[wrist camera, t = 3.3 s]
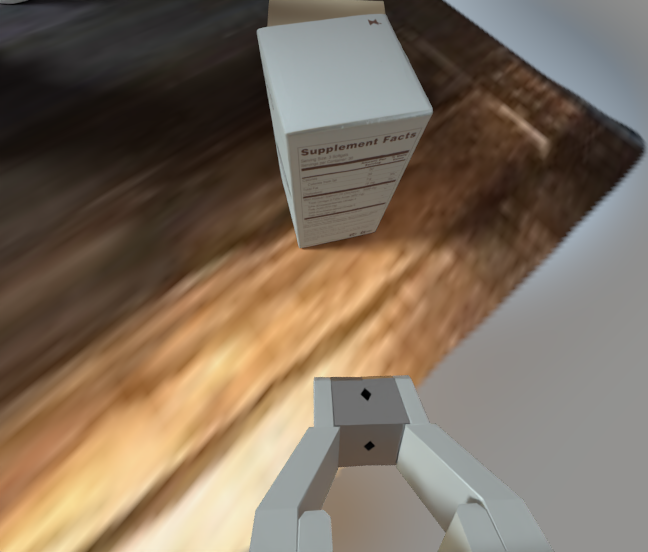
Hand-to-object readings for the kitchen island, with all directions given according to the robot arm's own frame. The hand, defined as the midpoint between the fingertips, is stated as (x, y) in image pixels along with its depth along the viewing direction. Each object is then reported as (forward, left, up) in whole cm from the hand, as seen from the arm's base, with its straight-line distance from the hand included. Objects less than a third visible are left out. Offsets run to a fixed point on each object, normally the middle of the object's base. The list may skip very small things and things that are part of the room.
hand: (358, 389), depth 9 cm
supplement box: (-13, +7, -13) cm, 19 cm away
